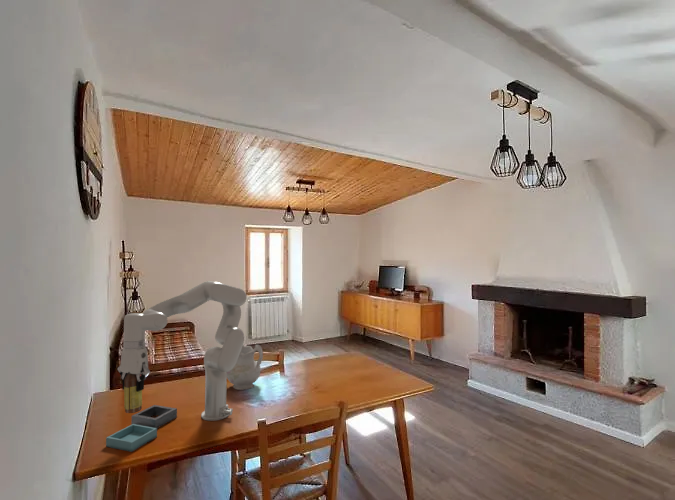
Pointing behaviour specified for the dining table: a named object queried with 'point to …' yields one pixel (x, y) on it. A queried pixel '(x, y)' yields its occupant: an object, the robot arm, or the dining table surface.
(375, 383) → the dining table surface
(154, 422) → the steel collar
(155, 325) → the robot arm
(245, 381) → the ceramic pitcher
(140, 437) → the teal tray
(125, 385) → the sauce bottle
